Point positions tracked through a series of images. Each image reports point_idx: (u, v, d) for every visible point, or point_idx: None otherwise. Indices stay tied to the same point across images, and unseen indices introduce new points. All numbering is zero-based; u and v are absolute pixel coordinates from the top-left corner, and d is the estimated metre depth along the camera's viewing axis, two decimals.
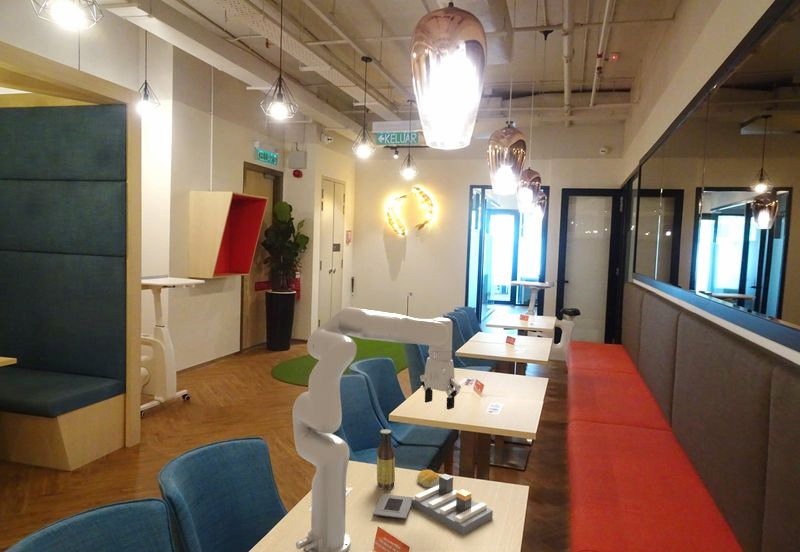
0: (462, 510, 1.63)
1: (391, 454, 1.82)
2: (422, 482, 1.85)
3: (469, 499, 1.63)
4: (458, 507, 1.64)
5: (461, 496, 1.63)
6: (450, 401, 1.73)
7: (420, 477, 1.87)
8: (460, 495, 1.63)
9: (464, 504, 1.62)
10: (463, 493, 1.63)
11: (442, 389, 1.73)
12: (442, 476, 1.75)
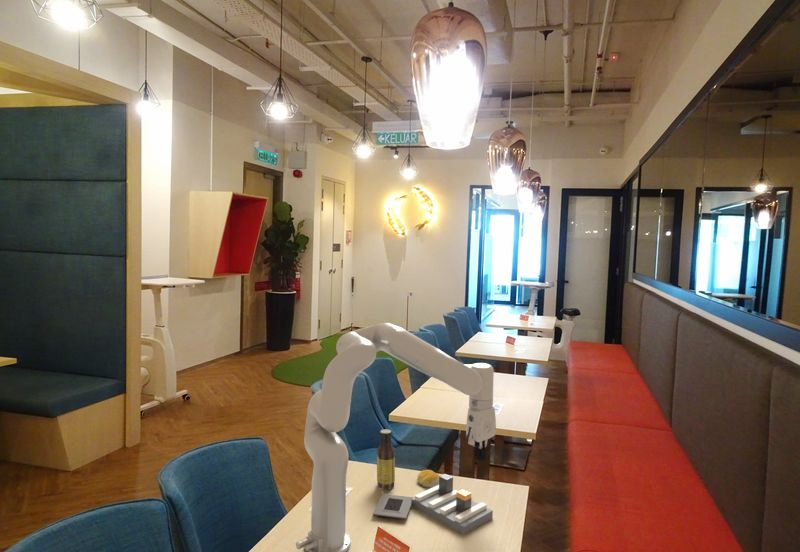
0: (462, 510, 1.63)
1: (391, 454, 1.82)
2: (422, 482, 1.85)
3: (469, 499, 1.63)
4: (458, 507, 1.64)
5: (461, 496, 1.63)
6: None
7: (420, 477, 1.87)
8: (460, 495, 1.63)
9: (464, 504, 1.62)
10: (463, 493, 1.63)
11: (493, 434, 1.68)
12: (442, 476, 1.75)
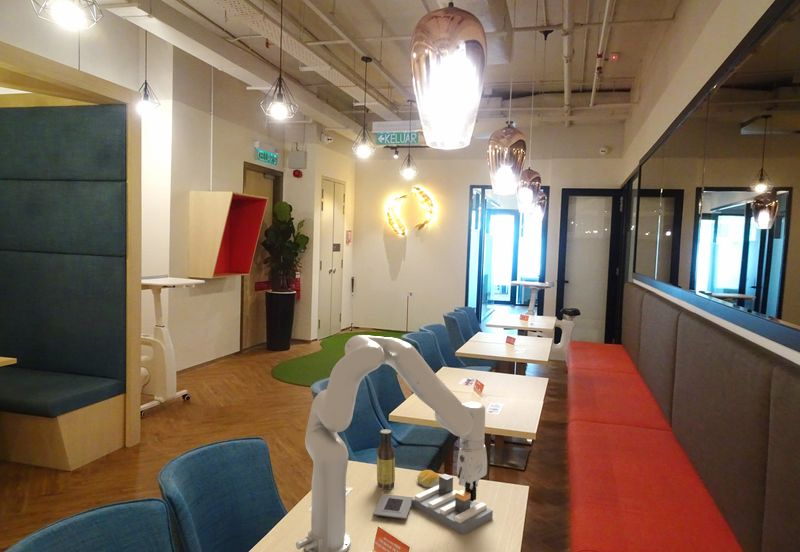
0: (461, 510, 1.62)
1: (391, 454, 1.82)
2: (422, 482, 1.85)
3: (468, 499, 1.63)
4: (457, 507, 1.64)
5: (460, 496, 1.62)
6: None
7: (420, 477, 1.87)
8: (459, 495, 1.63)
9: (463, 504, 1.62)
10: (462, 493, 1.63)
11: (484, 474, 1.66)
12: (442, 476, 1.75)
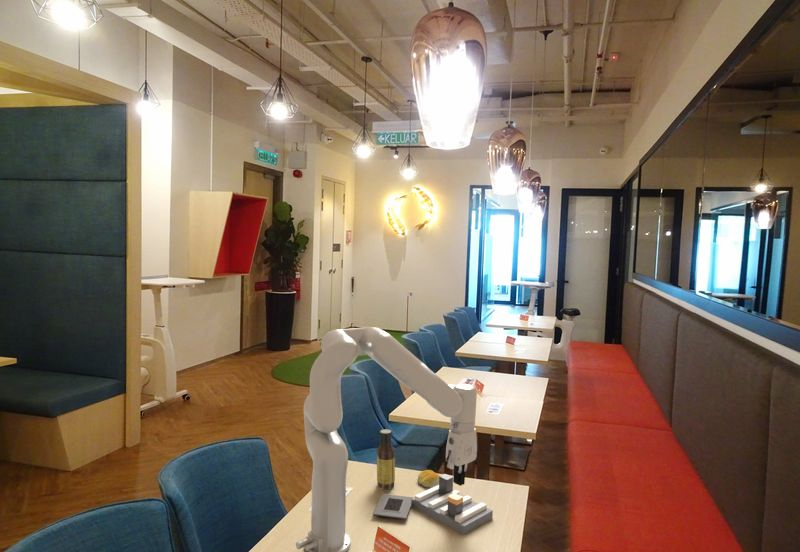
0: (453, 515, 1.60)
1: (391, 454, 1.82)
2: (423, 482, 1.85)
3: (461, 503, 1.61)
4: (449, 511, 1.61)
5: (452, 500, 1.60)
6: None
7: (420, 477, 1.87)
8: (451, 499, 1.60)
9: (455, 508, 1.59)
10: (454, 497, 1.61)
11: (474, 458, 1.62)
12: (442, 476, 1.75)
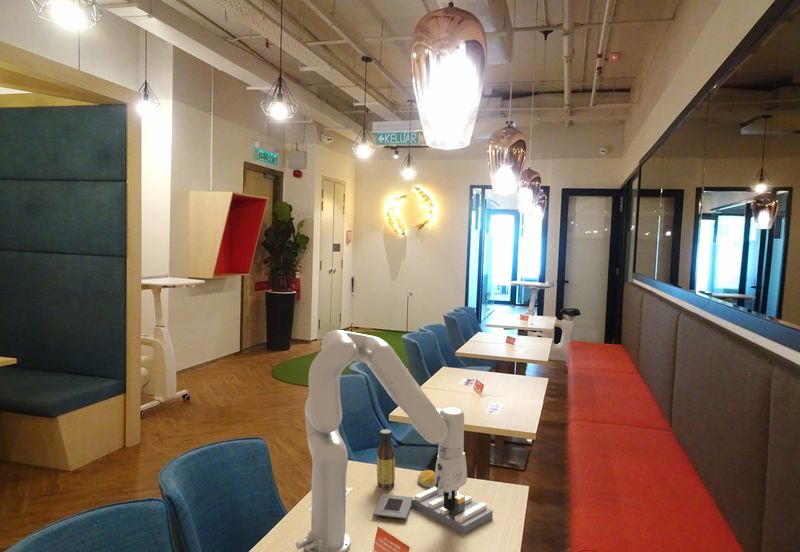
0: (455, 513, 1.61)
1: (391, 454, 1.82)
2: (423, 483, 1.85)
3: (463, 502, 1.61)
4: None
5: None
6: None
7: (421, 478, 1.87)
8: None
9: (457, 507, 1.60)
10: (456, 496, 1.61)
11: (464, 483, 1.59)
12: None
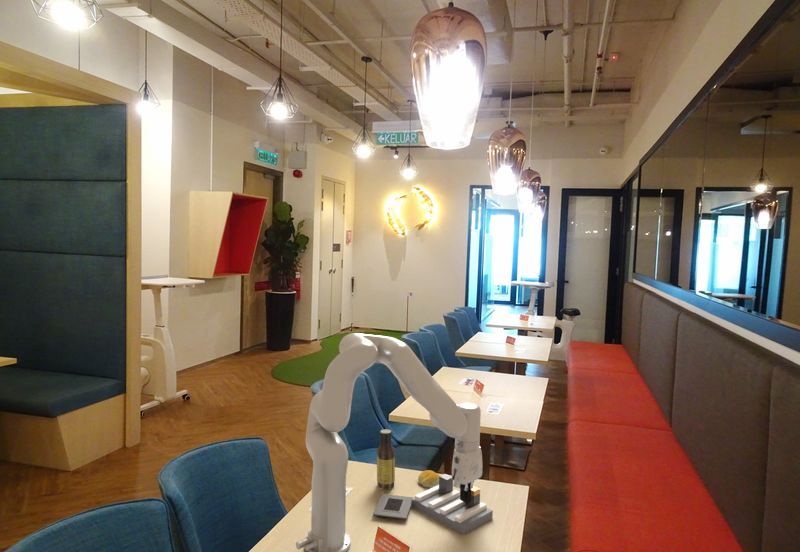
0: (471, 505, 1.66)
1: (391, 454, 1.82)
2: (423, 483, 1.85)
3: (478, 494, 1.66)
4: None
5: None
6: None
7: (421, 478, 1.87)
8: None
9: (473, 499, 1.65)
10: (472, 489, 1.66)
11: (480, 476, 1.64)
12: (442, 476, 1.75)
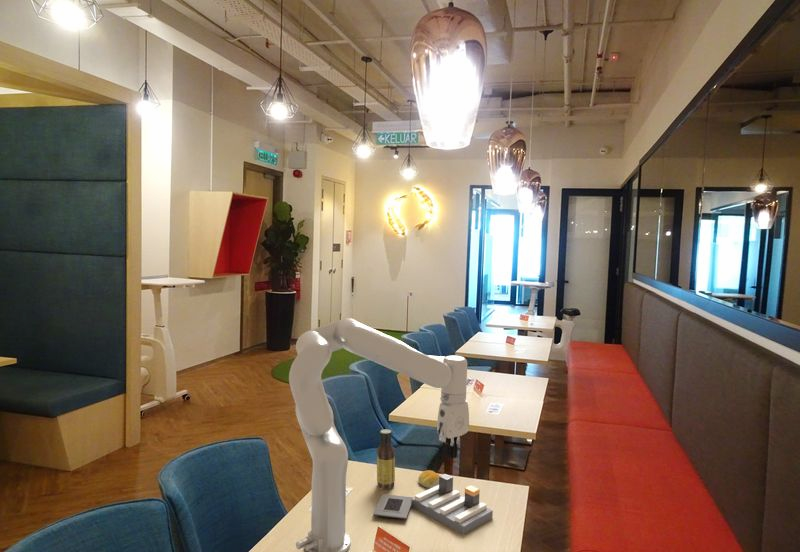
0: (470, 506, 1.65)
1: (391, 454, 1.82)
2: (423, 483, 1.85)
3: (477, 495, 1.66)
4: (466, 503, 1.67)
5: (469, 492, 1.66)
6: None
7: (421, 478, 1.87)
8: (468, 491, 1.66)
9: (472, 500, 1.65)
10: (471, 489, 1.66)
11: (466, 431, 1.60)
12: (442, 476, 1.75)
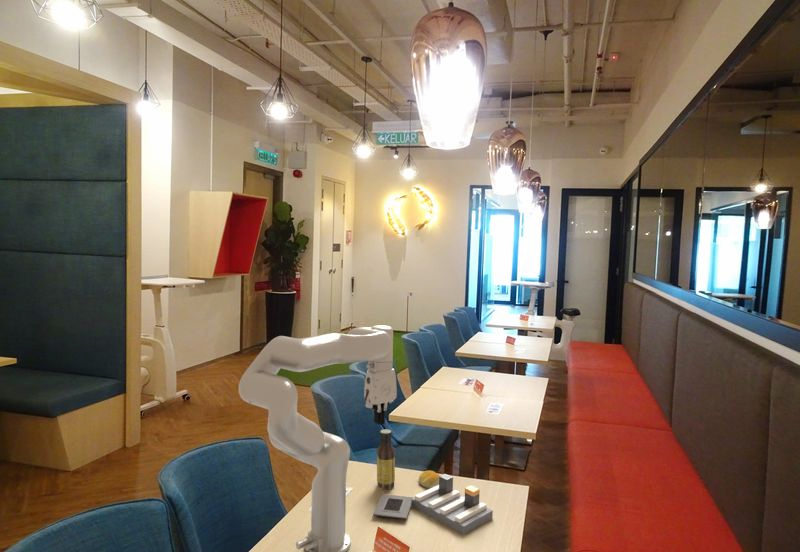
0: (470, 506, 1.65)
1: (391, 454, 1.82)
2: (424, 483, 1.85)
3: (477, 495, 1.66)
4: (466, 503, 1.67)
5: (469, 492, 1.66)
6: None
7: (422, 478, 1.87)
8: (468, 491, 1.66)
9: (472, 500, 1.65)
10: (471, 489, 1.66)
11: (393, 398, 1.65)
12: (442, 476, 1.75)
